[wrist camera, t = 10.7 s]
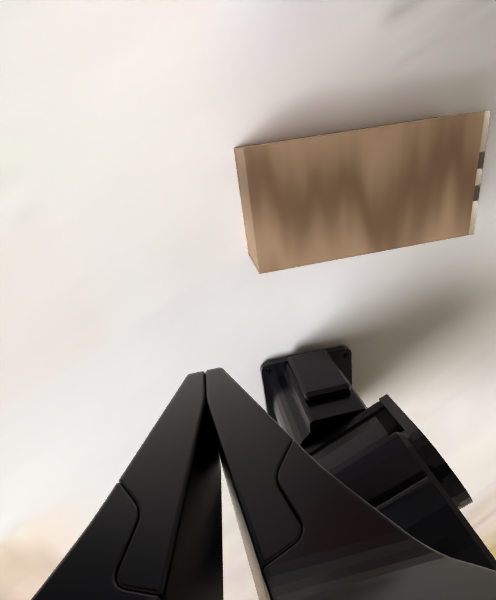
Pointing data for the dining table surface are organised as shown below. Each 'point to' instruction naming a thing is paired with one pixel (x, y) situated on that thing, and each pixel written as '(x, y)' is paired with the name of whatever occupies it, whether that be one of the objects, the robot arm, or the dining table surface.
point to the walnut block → (361, 190)
